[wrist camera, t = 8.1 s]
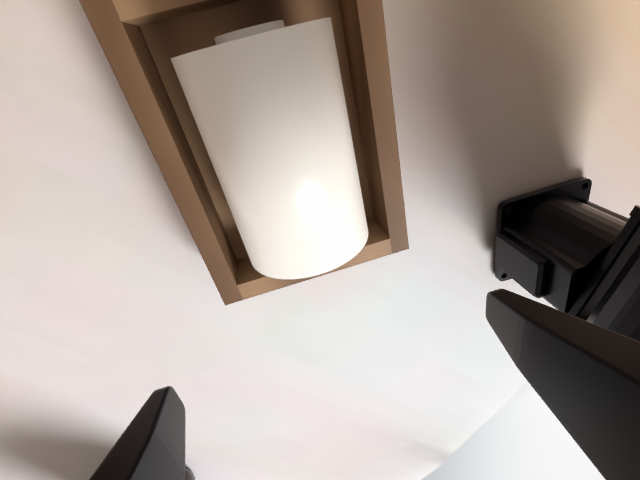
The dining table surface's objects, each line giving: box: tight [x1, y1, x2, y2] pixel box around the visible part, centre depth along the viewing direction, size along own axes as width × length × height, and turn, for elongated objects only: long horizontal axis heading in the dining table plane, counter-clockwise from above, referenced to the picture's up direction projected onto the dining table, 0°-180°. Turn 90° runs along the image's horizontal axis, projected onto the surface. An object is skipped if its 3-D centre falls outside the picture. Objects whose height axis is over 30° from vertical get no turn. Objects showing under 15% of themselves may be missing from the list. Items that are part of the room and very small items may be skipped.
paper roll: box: [171, 17, 368, 279], centre depth 15 cm, size 10×6×6 cm, turn 12°
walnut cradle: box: [79, 0, 409, 305], centre depth 17 cm, size 10×14×3 cm
